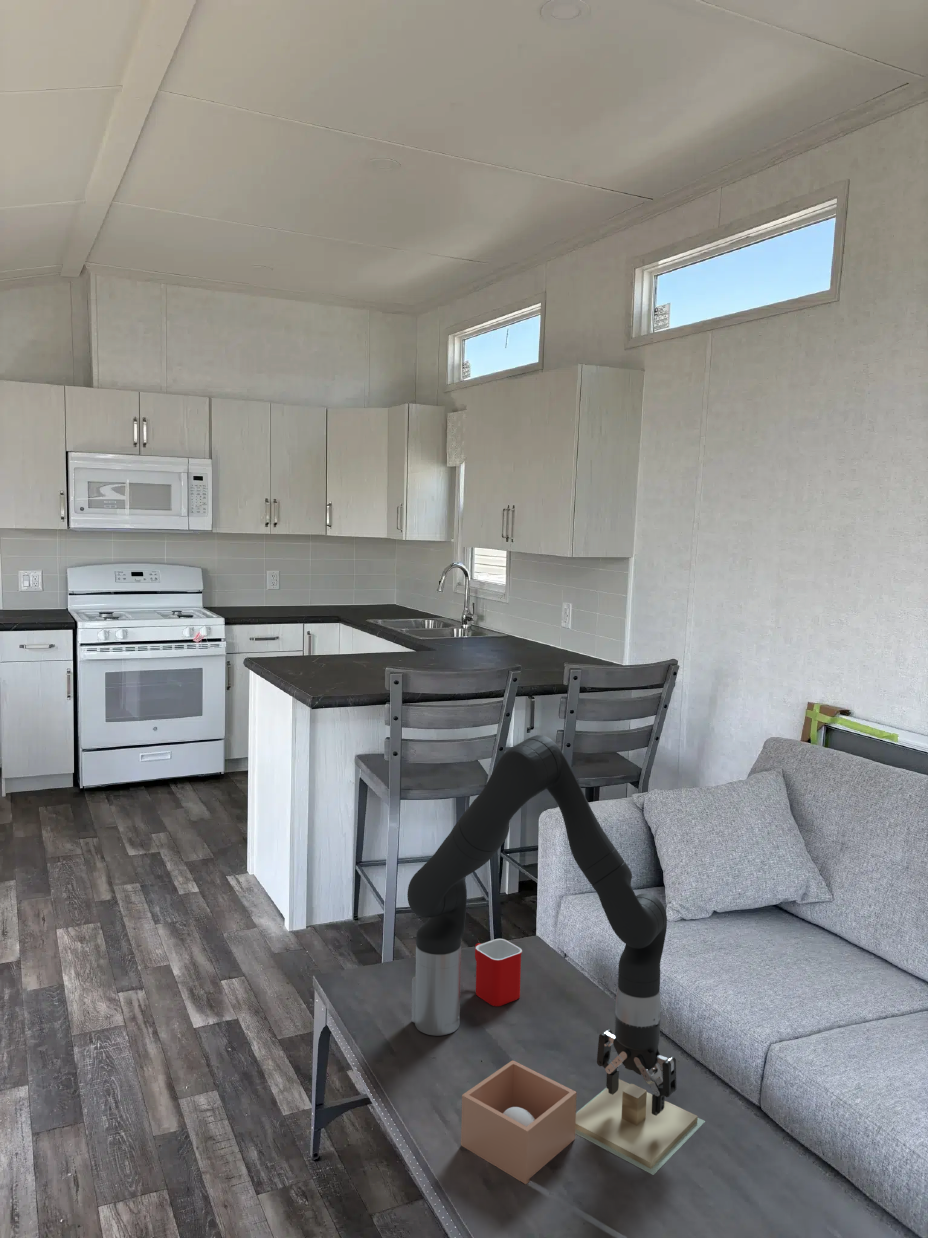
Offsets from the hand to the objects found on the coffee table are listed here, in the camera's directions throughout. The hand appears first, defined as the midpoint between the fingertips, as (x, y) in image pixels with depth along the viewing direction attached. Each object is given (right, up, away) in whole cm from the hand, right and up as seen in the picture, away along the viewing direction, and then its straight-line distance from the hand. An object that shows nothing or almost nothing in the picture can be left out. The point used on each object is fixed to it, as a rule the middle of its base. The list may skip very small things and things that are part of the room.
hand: (634, 1102), depth 161 cm
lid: (0, -4, +1) cm, 4 cm away
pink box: (-20, -5, -4) cm, 21 cm away
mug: (-23, +1, +46) cm, 51 cm away
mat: (0, -5, +1) cm, 5 cm away
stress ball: (-20, -5, -4) cm, 21 cm away
